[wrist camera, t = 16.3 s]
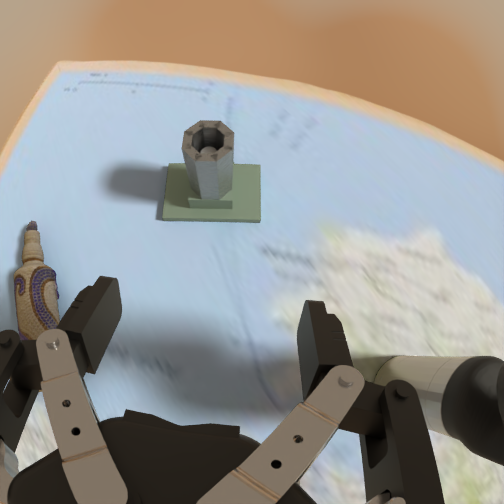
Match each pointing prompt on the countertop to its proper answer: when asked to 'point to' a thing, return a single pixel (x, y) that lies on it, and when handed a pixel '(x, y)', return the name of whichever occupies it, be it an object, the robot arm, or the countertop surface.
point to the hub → (209, 159)
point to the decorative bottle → (35, 290)
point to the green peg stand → (224, 210)
